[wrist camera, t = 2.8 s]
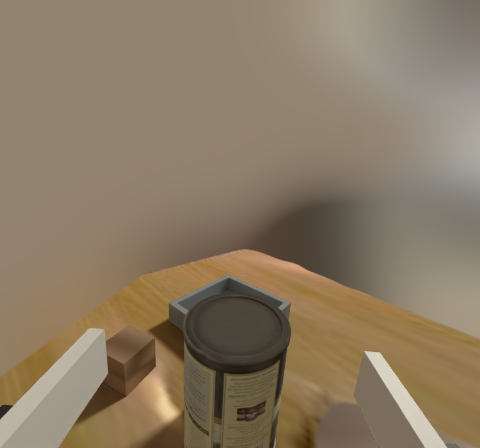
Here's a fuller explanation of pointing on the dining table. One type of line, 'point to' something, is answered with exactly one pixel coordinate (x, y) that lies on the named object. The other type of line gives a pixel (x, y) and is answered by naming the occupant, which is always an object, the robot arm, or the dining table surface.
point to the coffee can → (233, 371)
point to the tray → (217, 287)
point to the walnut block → (129, 359)
